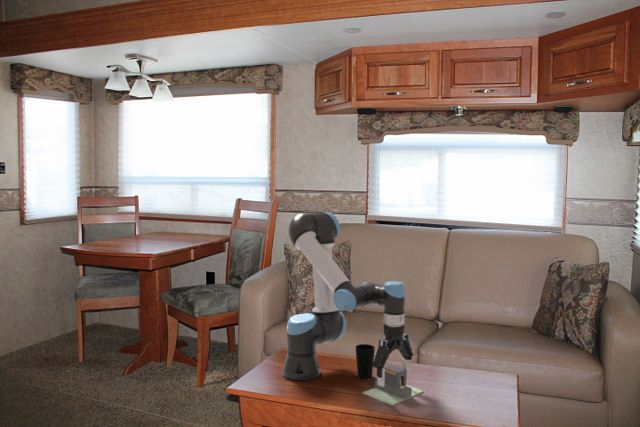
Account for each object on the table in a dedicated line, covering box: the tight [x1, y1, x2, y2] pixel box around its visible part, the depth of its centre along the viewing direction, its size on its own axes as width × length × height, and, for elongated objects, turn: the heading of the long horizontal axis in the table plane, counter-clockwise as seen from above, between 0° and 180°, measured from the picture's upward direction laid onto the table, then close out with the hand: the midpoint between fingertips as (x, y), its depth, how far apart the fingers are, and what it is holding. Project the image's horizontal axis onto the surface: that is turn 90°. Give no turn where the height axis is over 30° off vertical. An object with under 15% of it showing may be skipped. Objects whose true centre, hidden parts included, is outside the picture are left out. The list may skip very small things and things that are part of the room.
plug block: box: [383, 364, 407, 389], centre depth 199 cm, size 7×5×6 cm
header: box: [362, 378, 424, 406], centre depth 200 cm, size 14×18×6 cm
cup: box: [355, 343, 376, 380], centre depth 216 cm, size 8×8×12 cm
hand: (393, 380), depth 200 cm, fingers open, 13 cm apart
